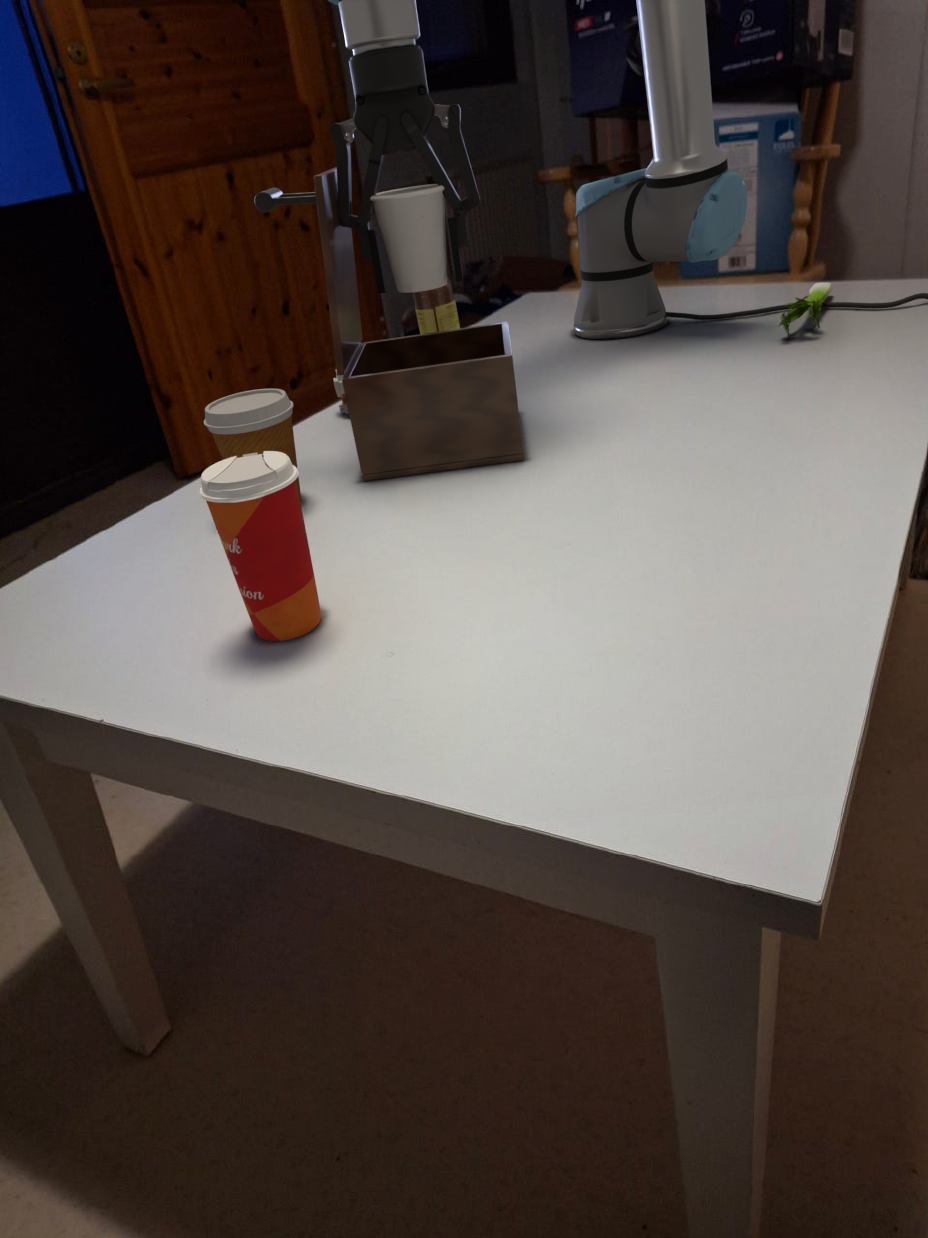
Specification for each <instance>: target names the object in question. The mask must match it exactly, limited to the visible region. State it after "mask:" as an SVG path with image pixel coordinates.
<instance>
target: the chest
mask: <svg viewBox="0 0 928 1238" xmlns="http://www.w3.org/2000/svg"><path fill="white" fill-rule="evenodd" d="M510 335H511V334H510V328H509V322H508V321H502V322H496V323H488V324H482V325H474V326H468V327H467V326H466V327H460V329H453V330H446V331H439V332H432V333H425V334H420V333H418V334H413V335H405V336H398V337H392V338H385V339H378V340H370V341H365V342H361V343H360V345H359V347H358V349H357V351H356V353H355V355H354V357H353V359H352V361H351V363H350V365H349V367H348V369H347V371H346V373H345V375H344V376H343V379H342V383H343V387H344V392H345V397H346V402H347V407H348V411H349V414H348V416H349V421H350V425H351V430H352V434H353V440H354V444H355V450H356V455H357V458H358V463H359V468H360V473H361V476H362V477H361V478H362V481H363V482H368V481H375V480H376V481H377V480H384V479H390V478H399V477H405V476H413V475H421V474H422V475H423V474H429V473H436V472H443V471H450V470H458V469H459V470H460V469H468V468H475V467H481V466H482V467H483V466H490V465H496V464H505V463H512V462H519V461H524V460H525V453H524V443H523V436H522V428H521V418H520V409H519V400H518V393H517V385H516V376H515V365H514V358H513V350H512V342H511V337H510Z"/></svg>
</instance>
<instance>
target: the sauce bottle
mask: <svg viewBox="0 0 928 1238" xmlns="http://www.w3.org/2000/svg"><path fill="white" fill-rule="evenodd" d="M412 297H413V302H414V309H415V310H414V311H415V315H416V319H417V324H418V330H419V334H425V333H432V332H439V331H446V330H453V329H460V328H461V325H460V319H459V314H458V313H459V312H458V309H457V303H456V298H455V295H454V293H453V286H452V281H451V280H450V278H449V277H448V276H447V284H446V285H445V286H442V287H439V288H436V289H432V290H426V291H420V292H412Z"/></svg>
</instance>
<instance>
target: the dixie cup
mask: <svg viewBox="0 0 928 1238" xmlns="http://www.w3.org/2000/svg"><path fill="white" fill-rule="evenodd" d="M442 190H444V187H443V186H442V185H441V186H438V185H437V183H431V184H423V185H421V184H420V185H415V186H408V187H407V186H406V187H402V188H396V189H390V190H385V191H381V192H376V195H375V196H372V197H371V198H370V200H371V201H373V209H374V213H375V216H376V220H377V223H378V227H379V230H380V234H381V237H382V241H383V244H384V247H385V251H386V255H387V258H388V261H389V264H390V269H391V272H392V276H393V279H394V283H395V286H396V290H397V292H398V293H404V294H405V293H408V294H409V293H413V292H420V291H426V290H432V289H436V288H439V287H442V286H445V285H446V284H447V277H448V262H447V230H446V227H447V226H446V199H445V197H444V195H443V193H442Z"/></svg>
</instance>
